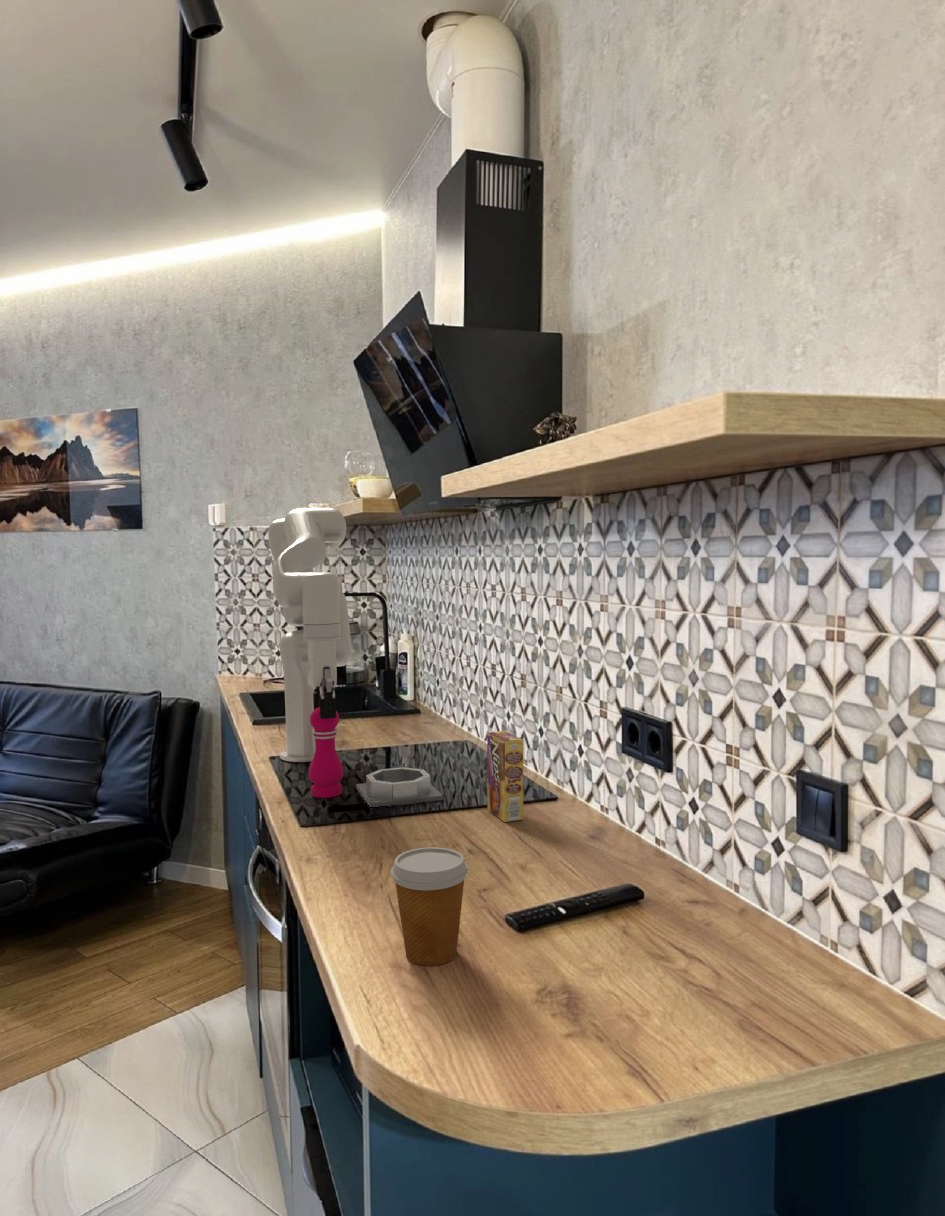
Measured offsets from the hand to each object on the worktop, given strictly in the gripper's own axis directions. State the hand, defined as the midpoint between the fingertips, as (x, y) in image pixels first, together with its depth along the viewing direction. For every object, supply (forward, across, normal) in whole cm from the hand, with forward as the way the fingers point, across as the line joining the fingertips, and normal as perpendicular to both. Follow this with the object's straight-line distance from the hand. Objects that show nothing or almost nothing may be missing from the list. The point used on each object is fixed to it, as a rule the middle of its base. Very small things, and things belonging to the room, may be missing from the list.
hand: (324, 714), depth 174 cm
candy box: (+18, +26, +30) cm, 44 cm away
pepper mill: (+17, -1, 0) cm, 17 cm away
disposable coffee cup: (+19, +75, +2) cm, 77 cm away
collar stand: (+17, +5, +14) cm, 23 cm away
